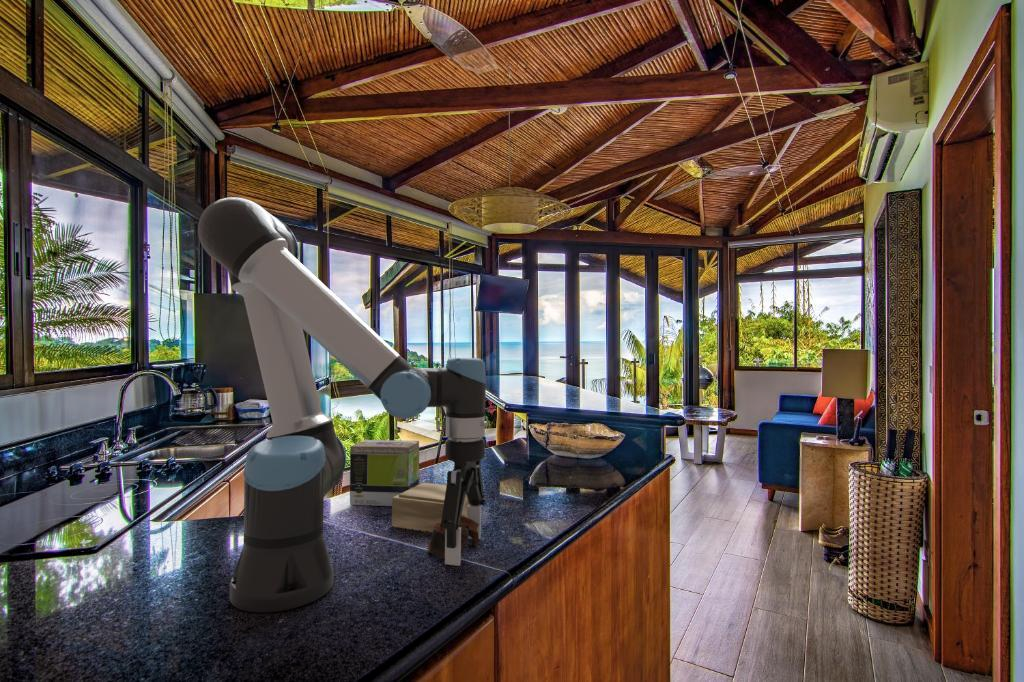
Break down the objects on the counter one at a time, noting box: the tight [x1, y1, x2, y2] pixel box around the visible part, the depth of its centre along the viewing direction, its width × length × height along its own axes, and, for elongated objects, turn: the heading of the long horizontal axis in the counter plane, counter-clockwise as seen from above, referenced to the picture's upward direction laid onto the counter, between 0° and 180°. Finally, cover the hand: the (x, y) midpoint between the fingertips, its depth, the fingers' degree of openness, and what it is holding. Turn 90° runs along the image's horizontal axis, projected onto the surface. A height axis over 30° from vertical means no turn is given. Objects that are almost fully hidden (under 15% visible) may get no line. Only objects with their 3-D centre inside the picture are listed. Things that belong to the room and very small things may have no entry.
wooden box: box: [391, 482, 471, 533], centre depth 117 cm, size 13×13×7 cm
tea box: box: [349, 439, 420, 507], centre depth 131 cm, size 15×10×15 cm, turn 84°
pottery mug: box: [426, 515, 480, 560], centre depth 99 cm, size 12×10×8 cm
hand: (463, 550), depth 99 cm, fingers open, 12 cm apart
